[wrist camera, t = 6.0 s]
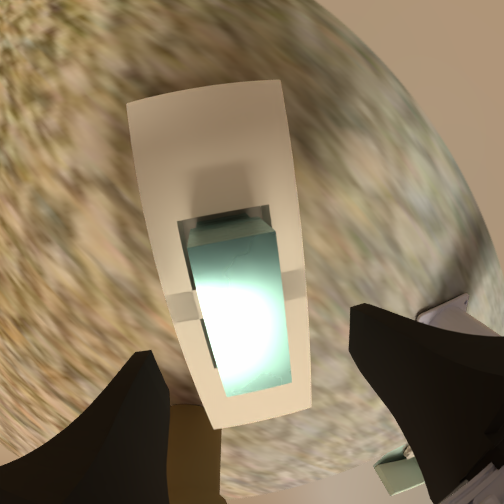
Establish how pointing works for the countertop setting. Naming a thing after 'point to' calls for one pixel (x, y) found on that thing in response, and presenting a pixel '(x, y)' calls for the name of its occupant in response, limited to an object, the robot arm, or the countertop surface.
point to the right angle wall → (399, 470)
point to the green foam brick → (242, 301)
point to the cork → (193, 457)
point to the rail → (220, 205)
